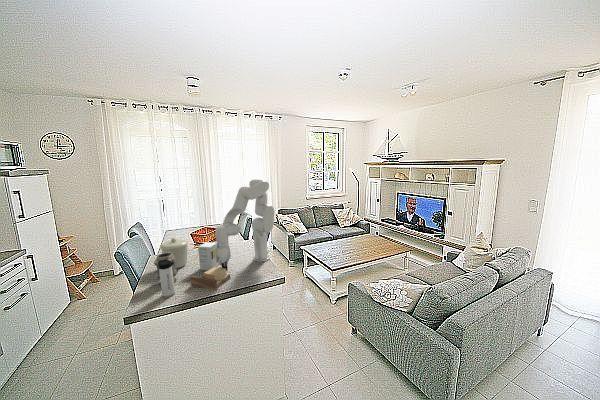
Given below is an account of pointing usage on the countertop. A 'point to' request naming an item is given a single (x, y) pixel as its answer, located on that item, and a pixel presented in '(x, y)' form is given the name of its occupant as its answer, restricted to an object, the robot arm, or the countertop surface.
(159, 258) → the apothecary jar
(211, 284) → the stand
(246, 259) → the countertop surface
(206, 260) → the supplement box
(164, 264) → the travel mug
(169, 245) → the canister
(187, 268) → the countertop surface
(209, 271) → the kraft carton
